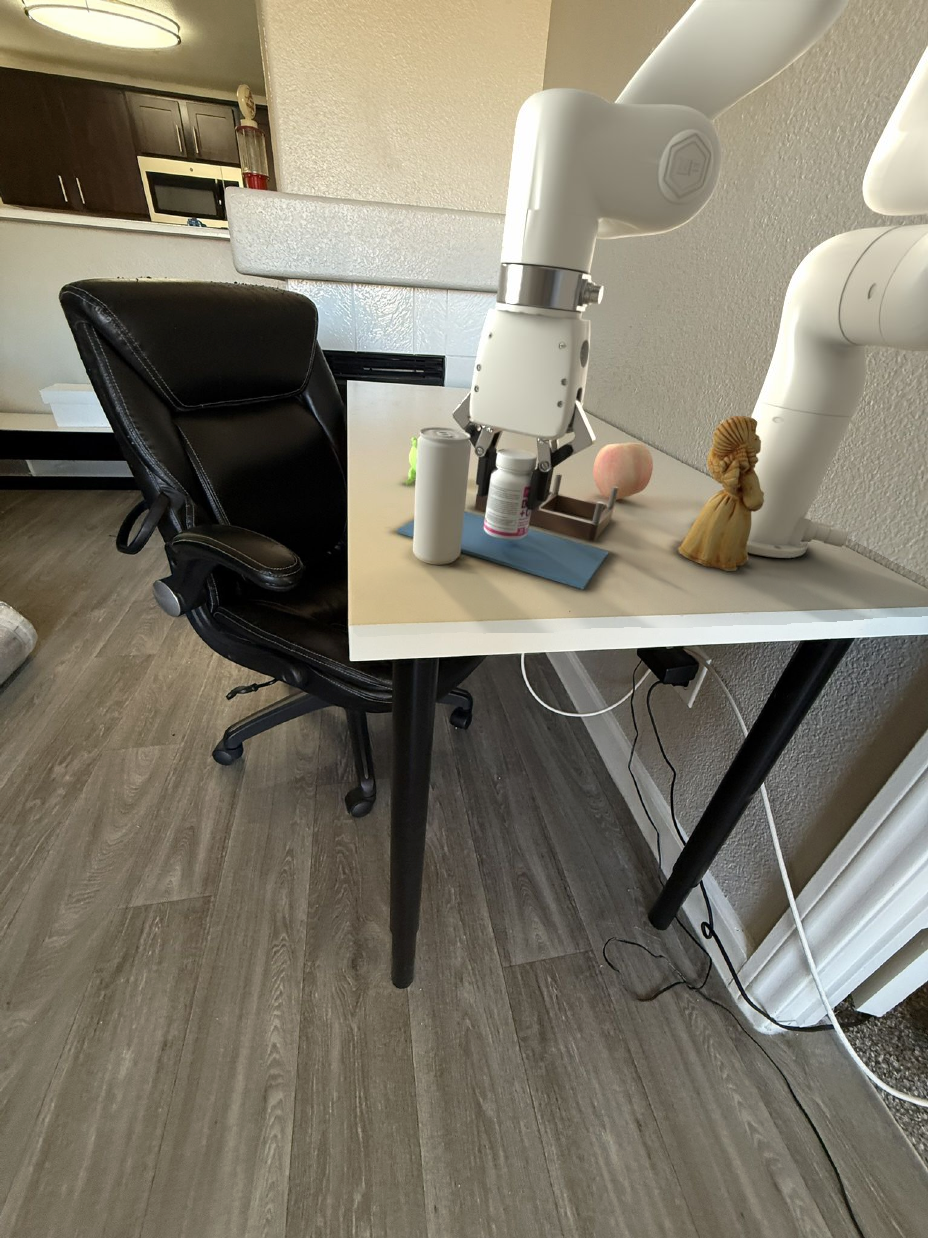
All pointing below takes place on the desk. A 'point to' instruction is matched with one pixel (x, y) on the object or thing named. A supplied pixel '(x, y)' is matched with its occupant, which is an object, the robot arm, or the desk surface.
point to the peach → (622, 469)
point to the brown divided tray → (569, 504)
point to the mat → (530, 552)
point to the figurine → (728, 498)
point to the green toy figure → (412, 461)
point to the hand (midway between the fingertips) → (510, 498)
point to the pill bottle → (509, 494)
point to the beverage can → (440, 493)
